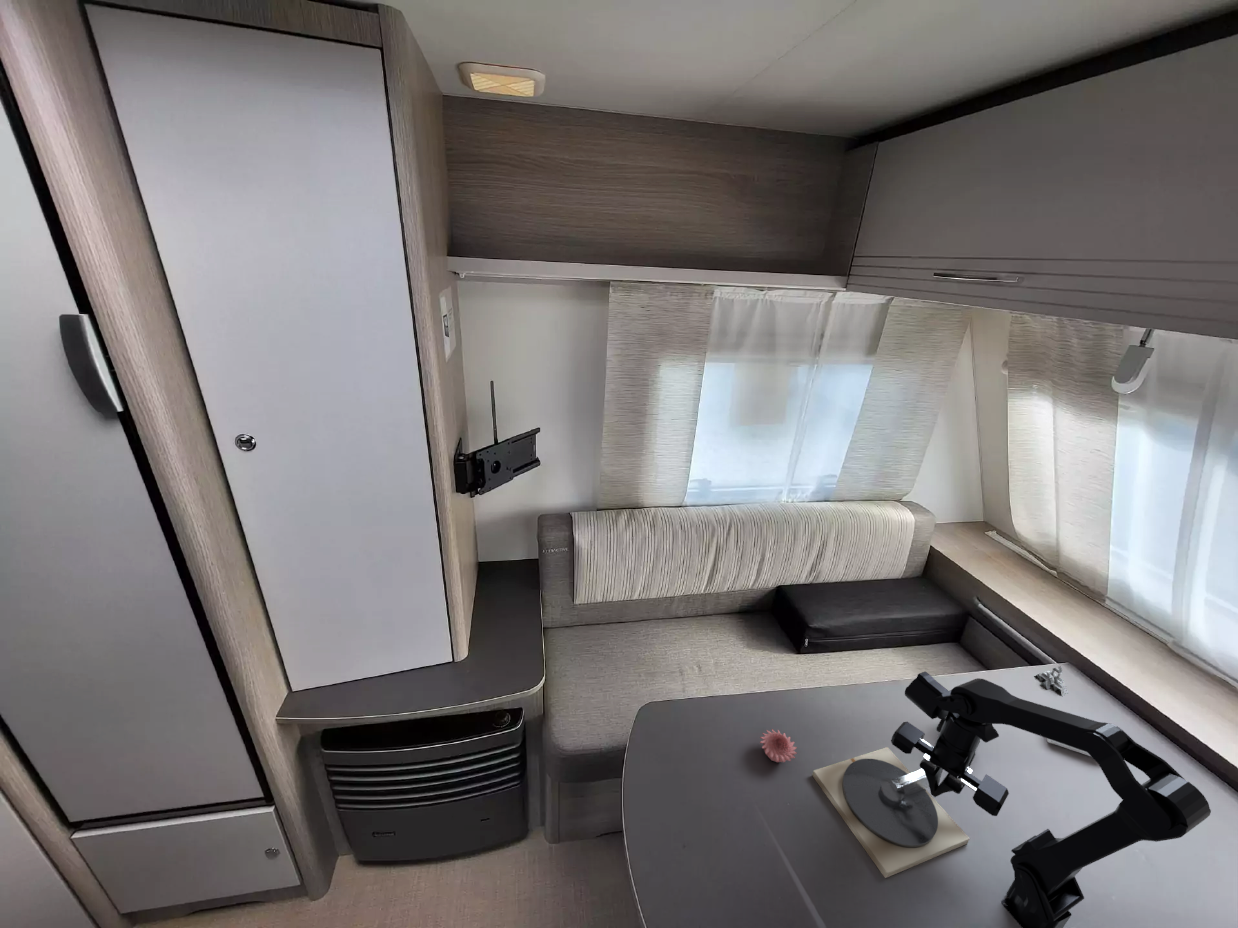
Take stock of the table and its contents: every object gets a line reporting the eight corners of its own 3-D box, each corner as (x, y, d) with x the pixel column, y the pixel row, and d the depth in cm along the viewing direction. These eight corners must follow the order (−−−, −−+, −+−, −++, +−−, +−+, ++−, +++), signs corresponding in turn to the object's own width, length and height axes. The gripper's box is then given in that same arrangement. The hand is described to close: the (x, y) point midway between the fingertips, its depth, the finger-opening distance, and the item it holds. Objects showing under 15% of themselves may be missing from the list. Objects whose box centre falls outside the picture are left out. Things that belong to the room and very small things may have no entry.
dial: (889, 861, 91) (897, 842, 89) (824, 775, 106) (829, 757, 104) (964, 827, 97) (973, 809, 95) (893, 750, 112) (899, 733, 110)
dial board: (967, 843, 96) (970, 837, 96) (885, 877, 90) (887, 872, 89) (885, 751, 114) (887, 746, 113) (812, 775, 107) (813, 769, 107)
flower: (786, 739, 115) (790, 722, 113) (800, 773, 108) (805, 754, 105) (752, 740, 114) (756, 722, 112) (763, 774, 107) (768, 755, 105)
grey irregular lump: (1011, 679, 137) (1022, 657, 134) (1032, 671, 140) (1042, 650, 137) (1048, 705, 129) (1059, 682, 126) (1069, 696, 132) (1080, 674, 129)
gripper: (1031, 751, 93) (1001, 808, 99) (924, 686, 106) (903, 739, 112) (1012, 785, 86) (981, 844, 92) (900, 712, 99) (880, 767, 105)
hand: (934, 794), depth 101 cm, fingers closed
